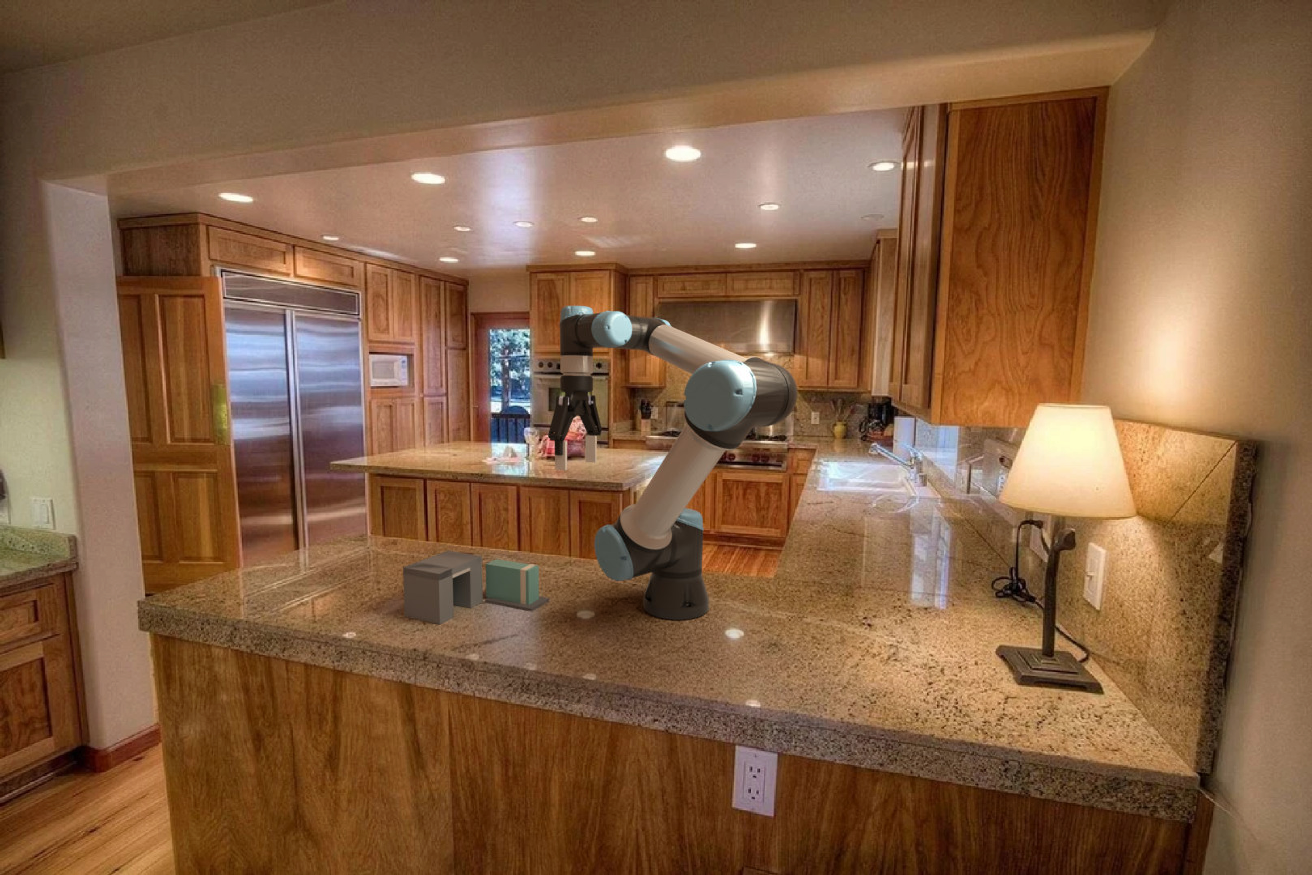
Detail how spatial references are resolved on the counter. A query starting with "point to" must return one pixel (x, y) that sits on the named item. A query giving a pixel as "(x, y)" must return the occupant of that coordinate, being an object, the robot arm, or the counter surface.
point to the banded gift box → (512, 581)
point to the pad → (518, 605)
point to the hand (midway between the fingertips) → (576, 465)
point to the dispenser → (442, 585)
